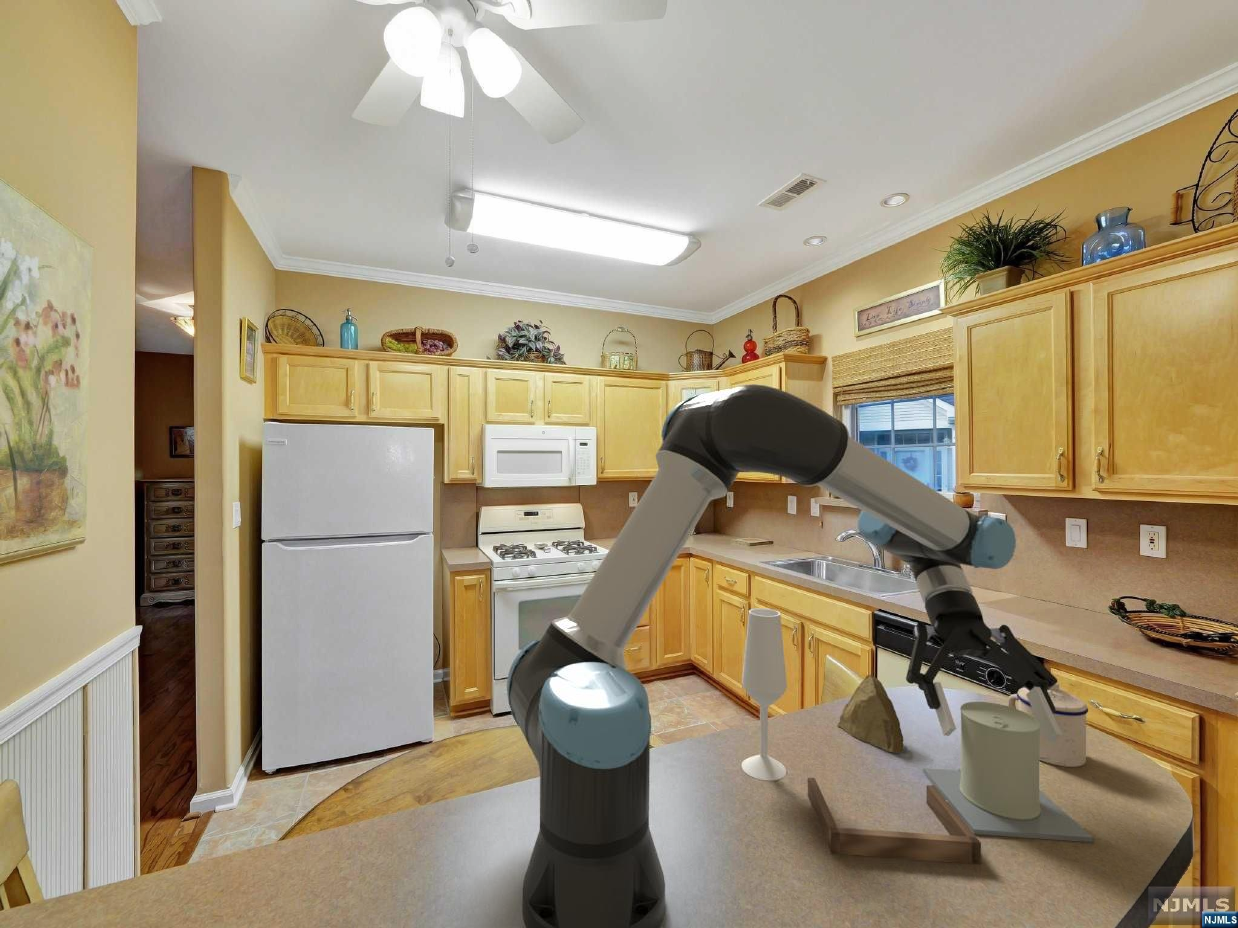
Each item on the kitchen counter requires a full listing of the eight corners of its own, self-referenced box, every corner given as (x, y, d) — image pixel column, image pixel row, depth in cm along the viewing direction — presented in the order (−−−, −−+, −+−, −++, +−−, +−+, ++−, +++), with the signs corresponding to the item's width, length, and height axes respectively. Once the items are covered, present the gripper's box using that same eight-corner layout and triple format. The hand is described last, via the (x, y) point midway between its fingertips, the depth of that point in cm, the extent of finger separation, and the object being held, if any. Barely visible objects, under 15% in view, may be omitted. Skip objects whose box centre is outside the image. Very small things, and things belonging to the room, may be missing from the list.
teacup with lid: (1103, 765, 85) (1103, 690, 85) (1056, 772, 83) (1056, 695, 83) (1030, 728, 97) (1030, 663, 97) (987, 734, 95) (988, 667, 95)
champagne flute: (774, 786, 79) (775, 621, 79) (733, 768, 83) (734, 612, 83) (793, 766, 84) (794, 611, 84) (753, 751, 88) (754, 604, 89)
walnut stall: (831, 852, 65) (831, 832, 65) (807, 795, 77) (807, 777, 77) (980, 864, 64) (981, 842, 64) (934, 803, 75) (934, 785, 75)
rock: (925, 743, 87) (900, 707, 97) (893, 702, 87) (872, 670, 96) (866, 777, 89) (848, 738, 99) (835, 736, 88) (820, 701, 98)
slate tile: (973, 833, 69) (973, 829, 69) (923, 771, 83) (923, 767, 83) (1093, 842, 68) (1093, 837, 68) (1021, 777, 81) (1021, 773, 81)
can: (957, 803, 74) (958, 715, 74) (961, 772, 82) (961, 692, 82) (1043, 829, 69) (1043, 735, 69) (1038, 793, 76) (1039, 708, 76)
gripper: (1018, 614, 92) (1084, 749, 77) (864, 609, 94) (899, 738, 79) (1040, 590, 86) (1115, 730, 71) (876, 585, 89) (915, 719, 74)
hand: (1001, 735), depth 75 cm, fingers open, 13 cm apart
